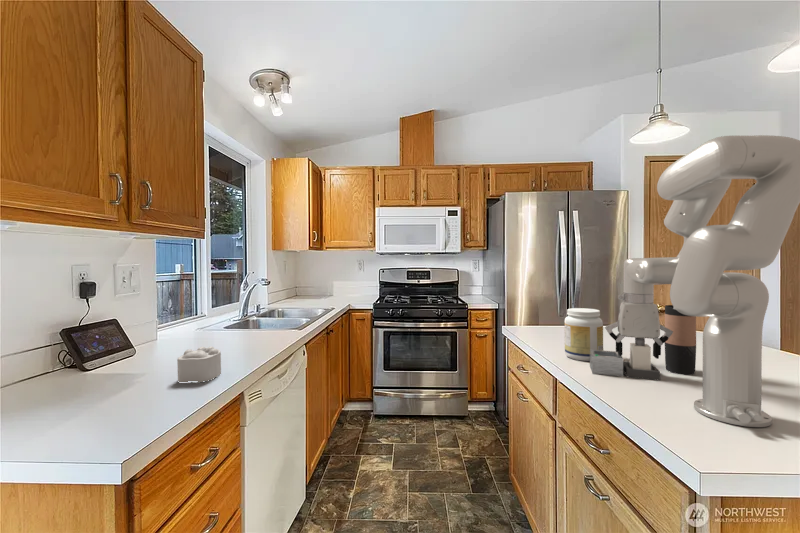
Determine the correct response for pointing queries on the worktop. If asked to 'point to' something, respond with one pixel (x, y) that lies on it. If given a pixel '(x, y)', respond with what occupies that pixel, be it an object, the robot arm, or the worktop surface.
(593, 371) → the port
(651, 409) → the worktop surface
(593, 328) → the supplement tub
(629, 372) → the dark grey tray
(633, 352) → the plug
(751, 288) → the robot arm
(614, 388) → the worktop surface
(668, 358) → the travel mug
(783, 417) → the worktop surface
